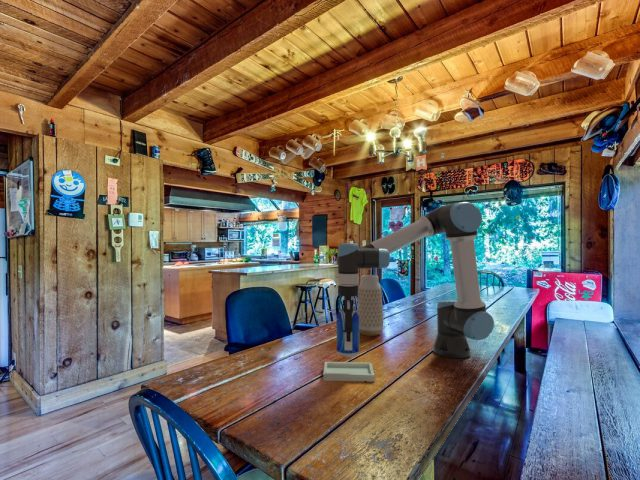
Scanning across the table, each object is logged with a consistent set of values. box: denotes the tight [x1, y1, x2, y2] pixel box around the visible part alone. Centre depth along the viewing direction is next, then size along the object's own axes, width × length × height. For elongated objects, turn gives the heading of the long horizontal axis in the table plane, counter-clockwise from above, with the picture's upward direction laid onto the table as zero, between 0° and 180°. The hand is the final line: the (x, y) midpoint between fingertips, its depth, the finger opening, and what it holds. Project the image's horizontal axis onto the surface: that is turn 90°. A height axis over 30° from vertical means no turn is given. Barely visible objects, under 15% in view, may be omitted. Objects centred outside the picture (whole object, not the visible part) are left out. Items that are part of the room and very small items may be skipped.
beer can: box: [336, 308, 360, 358], centre depth 124 cm, size 8×8×16 cm
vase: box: [356, 274, 384, 337], centre depth 178 cm, size 14×14×31 cm
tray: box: [322, 361, 376, 383], centre depth 124 cm, size 18×12×2 cm, turn 87°
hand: (348, 345), depth 124 cm, fingers closed on beer can, 8 cm apart
